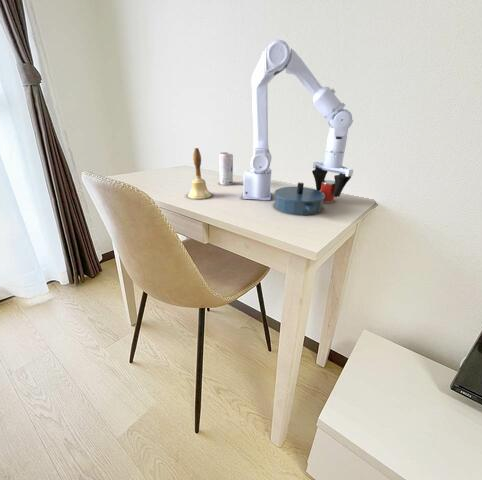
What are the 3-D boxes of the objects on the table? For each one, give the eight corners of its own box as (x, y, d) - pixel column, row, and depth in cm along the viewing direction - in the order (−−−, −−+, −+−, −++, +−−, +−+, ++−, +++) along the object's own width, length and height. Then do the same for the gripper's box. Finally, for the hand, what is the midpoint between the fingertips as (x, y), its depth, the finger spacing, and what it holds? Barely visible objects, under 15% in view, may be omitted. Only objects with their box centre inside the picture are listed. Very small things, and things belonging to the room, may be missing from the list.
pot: (287, 220, 72) (289, 206, 70) (267, 198, 90) (268, 187, 88) (334, 217, 75) (337, 204, 73) (305, 196, 92) (307, 185, 90)
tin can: (319, 202, 87) (322, 183, 84) (318, 198, 91) (320, 179, 88) (334, 203, 86) (338, 184, 83) (332, 198, 90) (335, 180, 87)
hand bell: (183, 197, 89) (179, 149, 82) (195, 191, 96) (192, 146, 89) (204, 200, 87) (201, 150, 79) (215, 193, 93) (214, 147, 86)
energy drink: (233, 182, 109) (233, 152, 103) (231, 185, 104) (231, 154, 98) (220, 181, 109) (220, 152, 104) (218, 185, 104) (218, 154, 99)
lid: (284, 206, 73) (285, 191, 71) (268, 190, 86) (269, 178, 84) (334, 203, 75) (337, 189, 73) (311, 188, 89) (312, 176, 87)
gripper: (363, 153, 78) (353, 197, 84) (325, 147, 89) (319, 186, 95) (347, 155, 74) (338, 200, 80) (311, 149, 85) (305, 189, 91)
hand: (327, 193), depth 87 cm, fingers open, 7 cm apart
